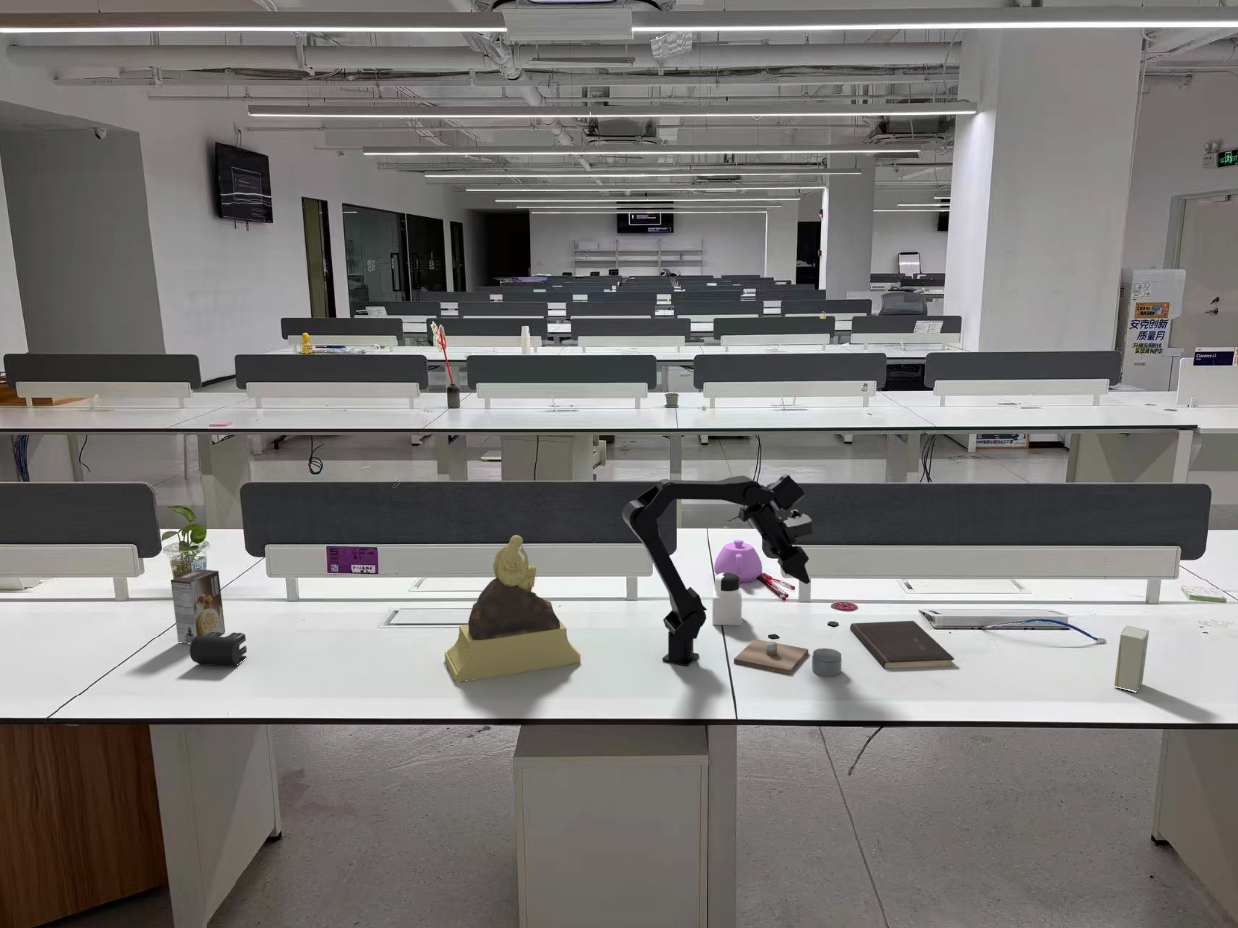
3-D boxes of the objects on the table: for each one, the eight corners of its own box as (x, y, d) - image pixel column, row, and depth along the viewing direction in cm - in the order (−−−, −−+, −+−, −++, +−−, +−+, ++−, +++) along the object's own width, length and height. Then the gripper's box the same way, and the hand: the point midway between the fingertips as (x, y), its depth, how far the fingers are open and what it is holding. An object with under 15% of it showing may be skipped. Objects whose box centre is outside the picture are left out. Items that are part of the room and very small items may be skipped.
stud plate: (789, 674, 201) (790, 659, 200) (733, 662, 207) (734, 648, 207) (808, 653, 212) (808, 638, 211) (754, 642, 218) (755, 628, 218)
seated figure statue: (563, 642, 220) (560, 520, 214) (580, 663, 208) (578, 534, 202) (445, 660, 210) (438, 533, 204) (456, 683, 198) (450, 549, 192)
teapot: (760, 565, 277) (761, 530, 275) (763, 587, 258) (764, 550, 255) (714, 564, 279) (714, 529, 276) (713, 585, 259) (714, 549, 257)
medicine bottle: (740, 615, 236) (741, 570, 234) (741, 625, 229) (742, 579, 227) (712, 614, 237) (712, 570, 234) (712, 625, 230) (712, 579, 227)
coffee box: (205, 629, 230) (198, 567, 227) (226, 632, 228) (219, 570, 225) (177, 643, 221) (169, 579, 218) (198, 646, 219) (191, 582, 216)
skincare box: (1120, 678, 198) (1125, 624, 195) (1143, 684, 195) (1149, 629, 192) (1113, 688, 193) (1119, 633, 190) (1137, 694, 190) (1143, 638, 188)
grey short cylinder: (836, 678, 199) (836, 661, 198) (808, 673, 202) (809, 656, 201) (843, 668, 204) (844, 651, 203) (817, 663, 207) (817, 646, 206)
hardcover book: (913, 629, 227) (913, 620, 227) (953, 668, 205) (954, 658, 204) (849, 632, 226) (850, 623, 226) (883, 671, 204) (883, 661, 203)
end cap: (191, 669, 207) (187, 640, 205) (208, 656, 214) (205, 628, 212) (233, 671, 206) (230, 642, 204) (249, 658, 212) (246, 630, 211)
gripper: (810, 518, 199) (845, 571, 204) (786, 490, 217) (819, 540, 222) (767, 546, 200) (802, 599, 205) (747, 516, 218) (780, 565, 223)
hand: (802, 574), depth 214 cm, fingers open, 9 cm apart
